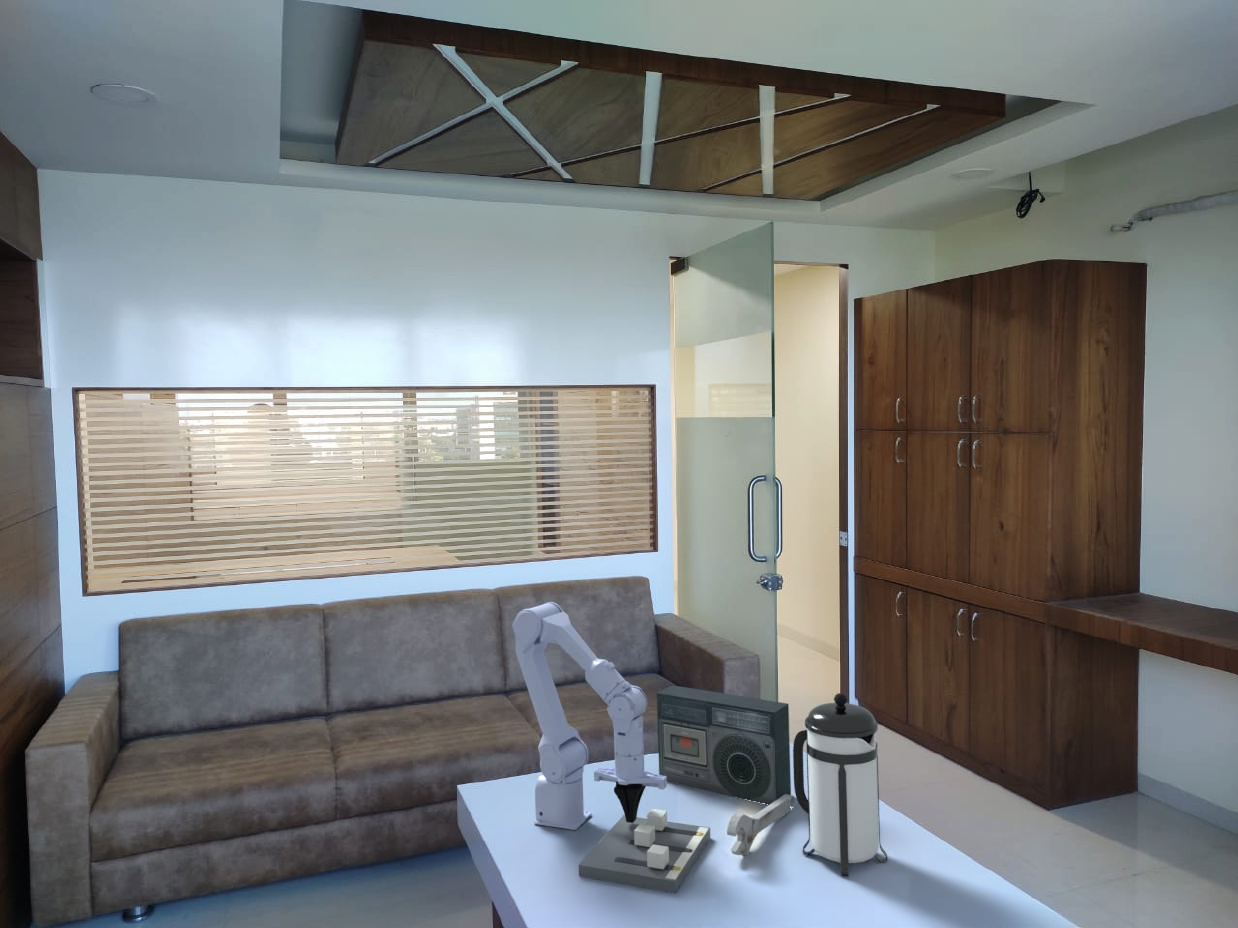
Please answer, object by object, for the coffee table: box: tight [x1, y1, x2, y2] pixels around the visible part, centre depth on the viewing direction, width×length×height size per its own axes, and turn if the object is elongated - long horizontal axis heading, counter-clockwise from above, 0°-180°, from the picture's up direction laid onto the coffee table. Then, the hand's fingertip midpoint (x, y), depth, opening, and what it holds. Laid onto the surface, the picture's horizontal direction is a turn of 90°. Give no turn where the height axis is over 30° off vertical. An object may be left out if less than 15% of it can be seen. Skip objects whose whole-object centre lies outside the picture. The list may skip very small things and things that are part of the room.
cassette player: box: [656, 685, 792, 806], centre depth 188 cm, size 29×7×20 cm, turn 55°
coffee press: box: [792, 692, 888, 877], centre depth 155 cm, size 17×16×30 cm
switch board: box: [578, 814, 711, 894], centre depth 158 cm, size 18×22×2 cm
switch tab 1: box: [646, 808, 668, 831], centre depth 164 cm, size 3×3×3 cm
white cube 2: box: [634, 824, 655, 847], centre depth 158 cm, size 3×3×3 cm
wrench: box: [726, 794, 796, 856], centre depth 165 cm, size 8×2×30 cm
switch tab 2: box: [647, 844, 669, 869], centre depth 150 cm, size 3×3×3 cm
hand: (631, 820), depth 166 cm, fingers closed
